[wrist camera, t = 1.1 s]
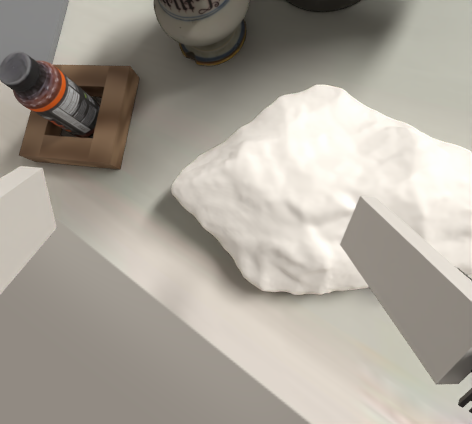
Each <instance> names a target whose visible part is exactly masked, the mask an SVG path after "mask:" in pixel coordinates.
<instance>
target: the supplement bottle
mask: <svg viewBox="0 0 472 424" xmlns="http://www.w3.org/2000/svg"><path fill="white" fill-rule="evenodd" d="M0 80H1V81H2V82H3V83H4V84H5V85H7V86H8V87H10V88H11V89H12V90H13V92H14V95H15V97H16V99H17V100H18V101H19V103H21V104H22V105H23V106H25V107H27V108H28V109H30V110H32V111H33V112H35V113H37V114H38V115H40V116H42V117H43V118H45V119H47V120H49V121H50V122H52V123H54V124H55V125H57V126H59V127H60V128H62V129H64V130H65V131H67V132H69V133H70V134H73V135H75V136H77V137H87V136H90V135H92V134H93V133H94V130H95V126H96V122H97V117H98V113H99V109H100V105H99V104H98V103H97V102H96V101H95V100H94V99H93V98H92V97H90V96H89V95H88V94H87V93H86V92H85V91H84V90H82V89H81V88H80V87H79V86H78V85H76V84H75V83H74V82H73V81H72V80H71V79H69V78H68V77H67V76H66V75H65V74H64V73H62V72H61V71H60V70H59V69H58V68H56V67H55V66H54V65H52V64H50V63H49V62H46V61H35V60H34V59H32V58H31V57H30V56H29V55H27V54H26V53H24V52H13V53H11V54H9V55H7V56H6V57H5V58H4V59H3V61H2V62H1V64H0Z"/></svg>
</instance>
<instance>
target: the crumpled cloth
mask: <svg viewBox="0 0 472 424" xmlns="http://www.w3.org/2000/svg"><path fill="white" fill-rule="evenodd" d="M171 193H172V195H173V196H175V198H176V199H177V200H178V201H179V202H180V204H181V205H182V206H183V207H184V208H185V209H186V210H187V211H188V212H190V213H191V214H193V215H194V216H195V217H196V219H197V220H198V221H199V222H200V224H201V226H202V227H203V228H204V229H206V230H207V231H208V232H209V233H211V234H212V235H213V236H215V237H216V238H217V239H218V241H219V242H220V243H221V245H222V247H223V248H224V249H225V250H226V251H227V252H229V254H230V255H231V256H232V258H233V259H234V261H235V263H236V265H237V267H238V268H239V270H240V271H241V273H242V275H243V277H244V278H245V279H247V280H248V281H249V282H250V283H251V284H253V285H255V286H256V287H257V288H259V289H260V290H262V291H271V292H279V291H283V292H289V293H291V294H293V295H302V294H317V295H321V294H324V293H330V292H332V291H336V290H339V291H346V290H356V289H364V288H368V287H369V286H368V285H367V283H366V282H365V280H364V279H363V277H362V276H361V274H360V273H359V272H358V270H357V269H356V267H355V266H354V264H353V263H352V261H351V260H350V258H349V257H348V256H347V254H346V253H345V251H344V250H343V248H342V247H341V245H340V243H341V241H342V238H343V236H344V233H345V231H346V229H347V226H348V224H349V221H350V219H351V217H352V214H353V212H354V209H355V207H356V205H357V202H358V200H359V197H360V196H366V197H376V198H377V199H378V200H379V201H380V202H381V203H383V204H384V205H385V206H386V207H387V208H388V209H389V210H391V211H392V212H393V213H394V214H395V215H396V216H398V217H399V218H400V219H401V220H402V221H403V222H404V223H406V224H407V225H408V226H409V227H410V228H411V229H413V230H414V231H415V232H416V233H417V234H418V235H419V236H421V237H422V238H423V239H424V240H425V241H426V242H427V243H429V244H430V245H431V246H432V247H433V248H434V249H436V250H437V251H438V252H439V253H440V254H441V255H442V256H444V257H445V258H446V259H447V260H448V261H449V262H451V263H452V264H453V265H454V266H455V267H457V268H459V269H460V270H461V271H462V272H464V273H465V274H466V275H469V274H472V152H471V151H469V150H467V149H465V148H463V147H460V146H458V145H455V144H451V143H447V142H443V141H440V140H437V139H434V138H432V137H429V136H428V135H426V134H424V133H422V132H420V131H418V130H417V129H415V128H414V127H413V126H411V125H409V124H407V123H405V122H402V121H398V120H395V119H392V118H390V117H387V116H385V115H383V114H381V113H379V112H378V111H376V110H373V109H371V108H369V107H367V106H365V105H363V104H362V103H360V102H359V101H358V100H356V99H355V98H353V97H352V96H350V95H349V94H348V93H347V92H346V91H345V90H344V89H342V88H338V87H335V86H330V85H314V86H313V87H310V88H308V89H307V90H304V91H301V92H298V93H292V94H287V95H282V96H280V97H278V98H277V99H276V100H275V101H274V102H273V103H272V104H271V105H270V106H268V107H266V108H265V109H264V110H262V111H261V112H260V113H259V115H257V116H256V117H255V119H254V120H253V121H251V122H250V123H248V124H247V125H244V126H242V127H240V128H239V129H237V130H236V131H235V132H234V133H233V134H232V135H231V136H230V137H229V138H228V139H227V140H226V141H224V142H223V143H222V144H220V145H218V146H215V147H213V148H212V149H210V150H208V151H206V152H205V153H202V154H200V155H199V156H198V157H197V158H196V159H195V160H194V161H193V162H192V163H190V164H189V165H187V166H186V167H185V168H184V169H183V170H182V171H181V172H180V174H179V176H178V177H177V178H176V179H175V180H174V182H173V183H172V186H171Z"/></svg>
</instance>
